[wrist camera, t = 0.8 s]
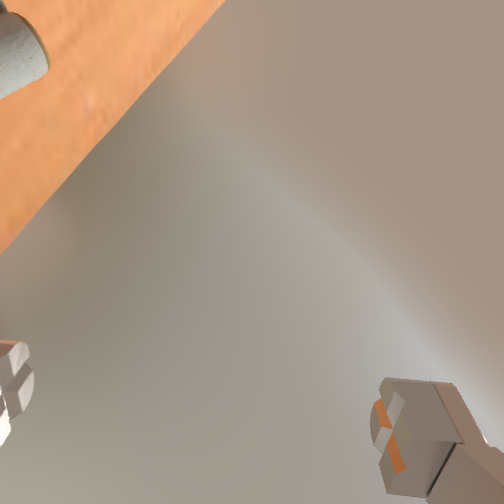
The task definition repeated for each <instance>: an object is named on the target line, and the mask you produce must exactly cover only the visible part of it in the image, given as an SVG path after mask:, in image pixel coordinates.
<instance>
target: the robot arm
mask: <svg viewBox="0 0 504 504" xmlns="http://www.w3.org/2000/svg"><path fill="white" fill-rule="evenodd" d="M29 355H30V354H29V351H28V347H27V344H26V343H23V342H19V341H11V340H3V339H0V447H1V445H2V443H3V442H4V440H5V439H6V437H7V436H8V434H9V433H10V431H11V426H10V420H11V419H13V418H14V417H16V416H18V415H19V414H21V413H22V412H23V411H24V409H25V408H26V406H27V404H28V403H29V401H30V398H31V395H32V392H33V389H34V374H33V370H32V369H31V368H30V367H29V366H28V365H27V364H26V363H25V361H26V360H27V358H28V357H29ZM379 391H380V394H381V397H382V398H381V399H379V400H378V401H376V402H375V403H374V405H373V408H372V411H371V418H370V429H371V436H372V440H373V444H374V446H375V447H376V448H377V449H378V450H379V451H380V452H381V453H382V454H383V455H382V457H381V460H380V462H379V466H380V470H381V474H382V477H383V481H384V484H385V488H386V491H387V494H394V495H402V496H411V497H419V498H427V500H426V501H427V502H428V503H429V504H504V453H502V452H501V451H500V450H499V449H497V448H496V447H489V445H488V443H487V442H486V440H485V438H484V436H483V435H482V433H481V431H480V429H479V427H478V426H477V424H476V422H475V420H474V418H473V417H472V415H471V413H470V411H469V409H468V408H467V406H466V404H465V402H464V400H463V399H462V397H461V395H460V393H459V392H458V390H457V388H456V387H455V386H454V385H453V384H452V383H444V382H432V381H429V382H427V381H420V380H409V379H396V378H385V379H384V380H383V381H382V383H381V385H380V388H379Z"/></svg>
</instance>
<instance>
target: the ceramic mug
mask: <svg viewBox="0 0 504 504" xmlns="http://www.w3.org/2000/svg"><path fill="white" fill-rule="evenodd" d="M0 11H1V14H0V99H1V98H3V97H5V96H7V95H9V94H11V93H12V92H14V91H16V90H18V89H20V88H22V87H24V86H25V85H27V84H29V83H31V82H33V81H35V80H37V79H39V78H40V77H42V76H43V75H44V74H45V73H47V72H48V70H49V68H50V58H49V54H48V52H47V49H46V47H45V45H44V43H43V41H42V40H41V38H40V36H39V35H38V33H37V32H36V30H35V29H34V28H33V26H32V25H31V24H30V23H29V22H28V21H27V20H26V19H25V18H24V17H22V16H21V15H19V14H17V13H14V12H8V11H7V9H6V7H5V5H4V3H3V2H2V1H1V0H0Z"/></svg>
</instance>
